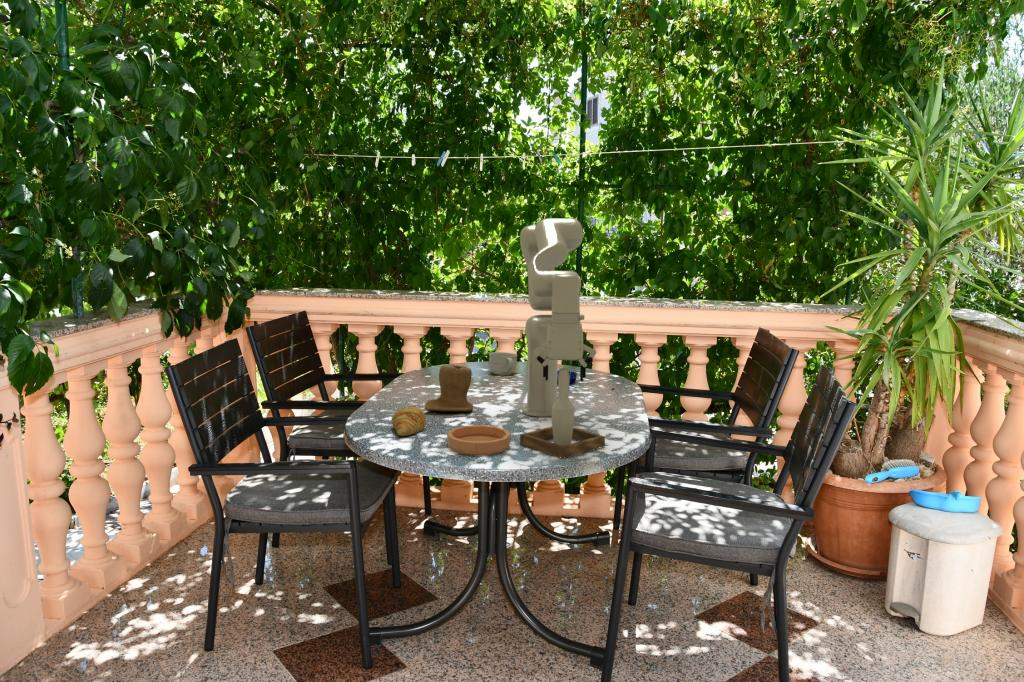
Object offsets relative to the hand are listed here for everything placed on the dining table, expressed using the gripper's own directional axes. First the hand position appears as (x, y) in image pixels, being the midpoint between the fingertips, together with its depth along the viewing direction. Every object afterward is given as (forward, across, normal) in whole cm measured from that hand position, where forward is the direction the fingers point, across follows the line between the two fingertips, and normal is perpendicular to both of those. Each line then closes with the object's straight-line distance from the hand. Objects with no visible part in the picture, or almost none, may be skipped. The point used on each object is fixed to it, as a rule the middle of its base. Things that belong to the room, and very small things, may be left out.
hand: (564, 380), depth 240 cm
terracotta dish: (+19, +24, +1) cm, 30 cm away
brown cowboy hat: (+18, +36, -37) cm, 55 cm away
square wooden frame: (+19, 0, -1) cm, 19 cm away
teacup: (+17, +22, -92) cm, 96 cm away
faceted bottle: (+19, 0, -1) cm, 19 cm away
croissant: (+19, +46, -14) cm, 52 cm away
